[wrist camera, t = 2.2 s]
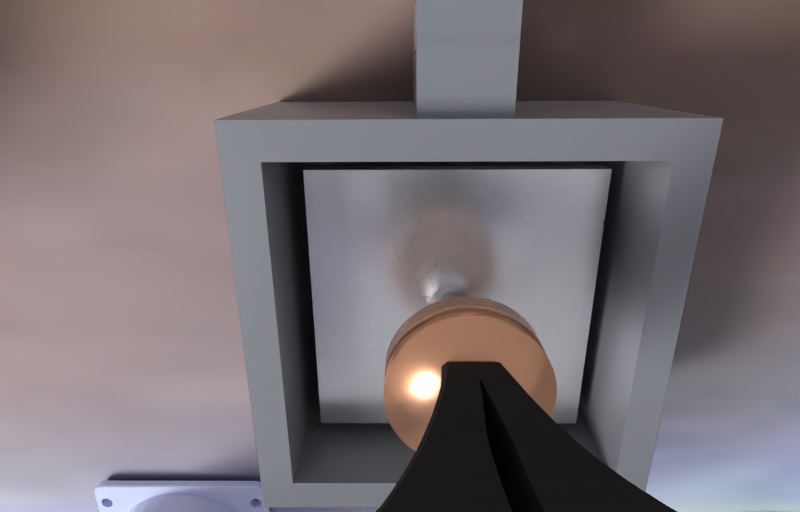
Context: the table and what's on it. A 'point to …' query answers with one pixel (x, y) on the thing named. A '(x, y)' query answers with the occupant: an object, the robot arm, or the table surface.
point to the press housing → (460, 146)
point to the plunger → (450, 283)
